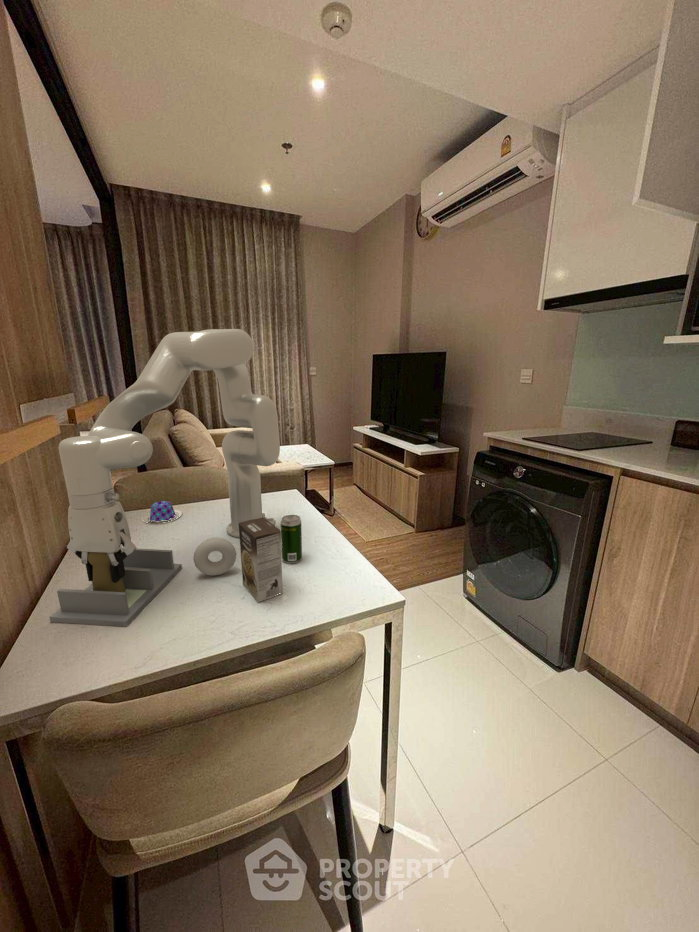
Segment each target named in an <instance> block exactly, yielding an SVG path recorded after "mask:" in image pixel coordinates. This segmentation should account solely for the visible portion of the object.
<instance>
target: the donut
mask: <svg viewBox="0 0 699 932" xmlns="http://www.w3.org/2000/svg"><path fill="white" fill-rule="evenodd" d="M214 552H219V553H220V554H221V557H222V558H220V560H216V561H213V560H211V559H210V558H209V556H210V554H211V553H214ZM237 554H238V553H237V549H236V547H235V546H234V544H233V542H231V541H230V540H228V539H226V538H224V537H210V538H207V539H205V540H203V541H202V542H200V544H198V546H197V547H196V549H195V550H194V553H193V563H194V565H195V567H196V569H197V570H198V571H199V572H201V573H202V574H204V575H208V576H219V575H223V574H225V573H226V572H228V571H230V570H231V569H232V567H234V564H235V562H236V559H237Z"/></svg>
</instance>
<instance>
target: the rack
mask: <svg viewBox="0 0 699 932" xmlns="http://www.w3.org/2000/svg"><path fill="white" fill-rule="evenodd" d="M122 549H123V551H124V550H125V548H124V547H122ZM117 556H118V555H117ZM123 562H124V568H125V576H124V577H122V580H123V583H124V585H125V589H126V591H125V592H108V591H93V581H91V584H89V585H88V586H87V587H86V588H84V589H72V588H70V589H69V588H59V589H58V590H57V591H56V593H57V597H58V602H59V607H60V608H59V609H57V611H55V612H54V613H52V614H51V615H50V616H49V622H50V623H57V624H58V623H60V624H61V623H62V624H75V625H76V624H77V625H93V626H95V625H96V626H107V627H109V626H110V627H125V628H127V627H128V626H129V625H130V624H131V623H132V622H133V621H134V619H136V618H137V616H138V615H140V614H141V612H142V611H143V610H144V609H145V608H146V607H147V606H148V605H149V604H150V603H151V602H152V601H153V600H154V598H155V597H157V595H159V593H160V592H161V591H162V590H163V589H164V588H165V587H167V585H168V584H169V583H170V582H171V581H172V580H173V579H174V577H176V575H177V574H178V573H179V572H180V571H181V570H182V569H183V564H182V563H174V555H173V549H158V548H157V549H153V548H137V547H136V550H134V551H133V552H132V553H130V554H129V555H128V556H127V557H126V558H125V559H124V560H123Z"/></svg>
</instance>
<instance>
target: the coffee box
mask: <svg viewBox="0 0 699 932" xmlns="http://www.w3.org/2000/svg"><path fill="white" fill-rule="evenodd" d="M238 524H239V536H240V538H239V549H240V559H241V573H242V574H241V575H242V576H241V577H242V584H243V586H244V588H245V589H246V590H247V591H248V592H249V593H250V595H251V596H252V597H253V598H254V599H255V601H256V602H257V603H258V602H259V603H262V602H264V601H267V600H269V599H271V598H270V597H272V598H274V597H273V596H275V595H277V594H279V593H282V594H283V573H282V572H283V569H282V567H283V564H282V562H283V559H282V544H281V528H280V529H279V528H278V527H277V526H276V525H275V526H274V525H273V524H272V523H270V522H269V521H268V520H266V519H265V518H264V517H262V518H258V519H252V520H248V521H244V522H240V523H238ZM277 596H278V595H277ZM275 597H276V596H275ZM268 598H269V599H268ZM266 599H267V600H266ZM263 600H264V601H263ZM261 601H262V602H261Z"/></svg>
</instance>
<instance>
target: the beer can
mask: <svg viewBox="0 0 699 932" xmlns="http://www.w3.org/2000/svg"><path fill="white" fill-rule="evenodd" d="M280 530H281V556H282V562H284V564H287V563H289V564H288V565H293V564H292V563H295V564H298V563H299V562H301V560H302V558H303V544H302V543H303V542H302V539H303V537H302V535H303V534H302V520H301V517H300V516H299V515H297V514H287V515H284V516H282V517H281V521H280ZM297 562H298V563H297Z"/></svg>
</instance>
